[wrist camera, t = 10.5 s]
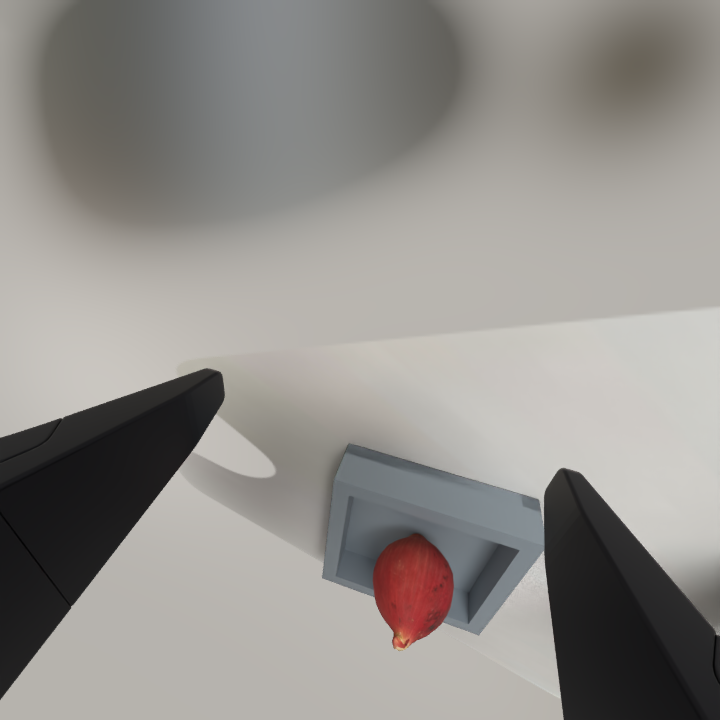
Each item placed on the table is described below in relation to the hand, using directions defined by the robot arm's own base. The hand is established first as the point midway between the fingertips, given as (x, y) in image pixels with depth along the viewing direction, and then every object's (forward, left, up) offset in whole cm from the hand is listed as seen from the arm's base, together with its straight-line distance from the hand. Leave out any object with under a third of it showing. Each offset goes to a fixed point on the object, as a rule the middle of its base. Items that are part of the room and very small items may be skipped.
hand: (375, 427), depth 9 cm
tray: (-4, +21, -12) cm, 25 cm away
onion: (-4, +21, -11) cm, 24 cm away
